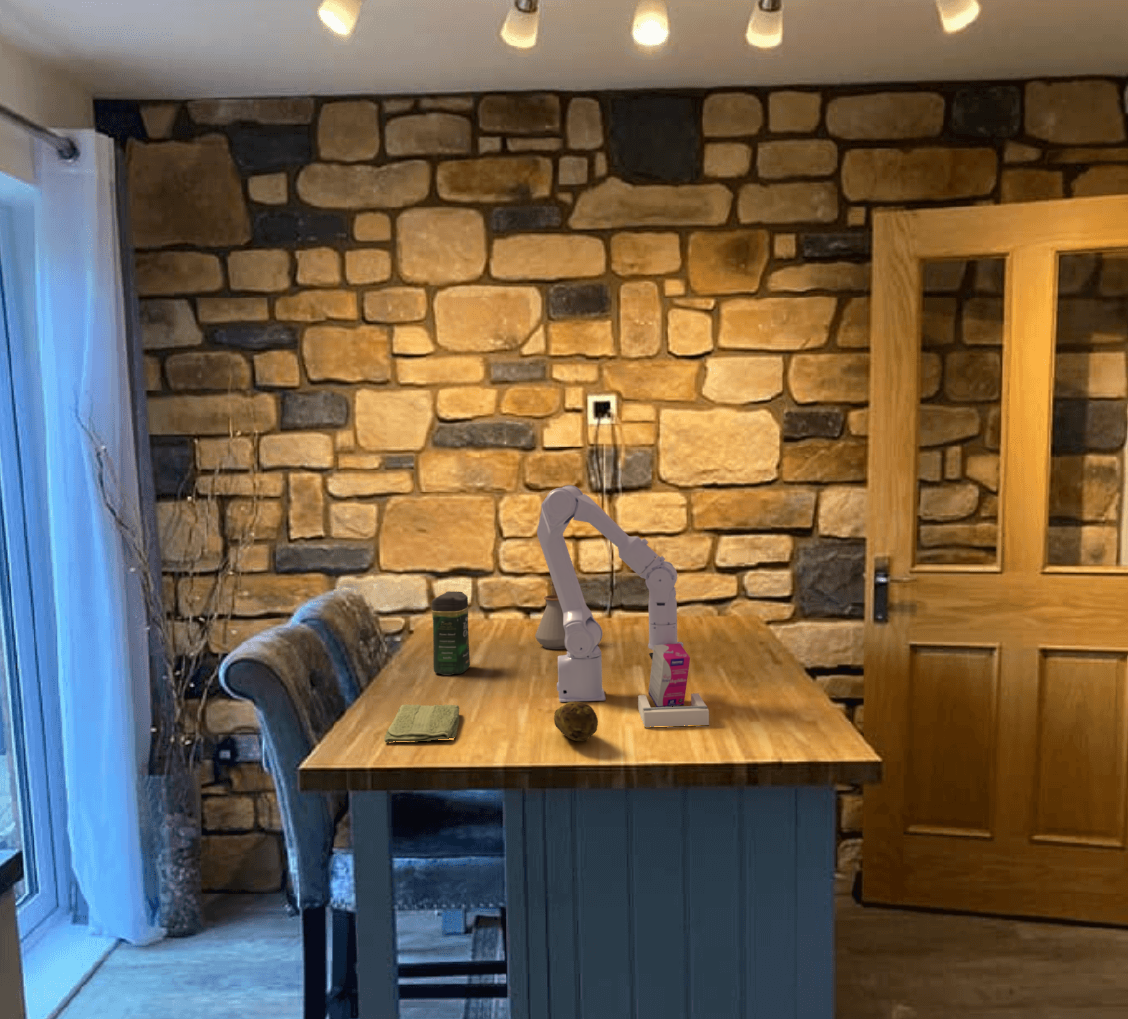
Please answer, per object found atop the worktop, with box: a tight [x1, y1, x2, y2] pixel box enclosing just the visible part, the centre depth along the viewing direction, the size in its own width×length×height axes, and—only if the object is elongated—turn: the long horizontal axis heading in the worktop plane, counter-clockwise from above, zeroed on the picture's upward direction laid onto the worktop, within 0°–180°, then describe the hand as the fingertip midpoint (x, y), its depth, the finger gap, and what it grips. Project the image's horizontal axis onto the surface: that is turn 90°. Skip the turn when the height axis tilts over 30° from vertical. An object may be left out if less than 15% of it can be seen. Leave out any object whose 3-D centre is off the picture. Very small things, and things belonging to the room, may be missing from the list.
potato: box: [553, 701, 599, 742], centre depth 167 cm, size 8×13×8 cm, turn 176°
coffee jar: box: [431, 591, 471, 676], centre depth 219 cm, size 10×8×19 cm
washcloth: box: [384, 704, 460, 743], centre depth 177 cm, size 13×18×3 cm
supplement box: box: [647, 643, 691, 707], centre depth 186 cm, size 6×6×12 cm
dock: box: [637, 692, 710, 727], centre depth 179 cm, size 12×11×3 cm
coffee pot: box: [534, 580, 566, 650], centre depth 246 cm, size 21×12×15 cm, turn 3°
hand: (664, 687), depth 191 cm, fingers closed, pressing on supplement box
